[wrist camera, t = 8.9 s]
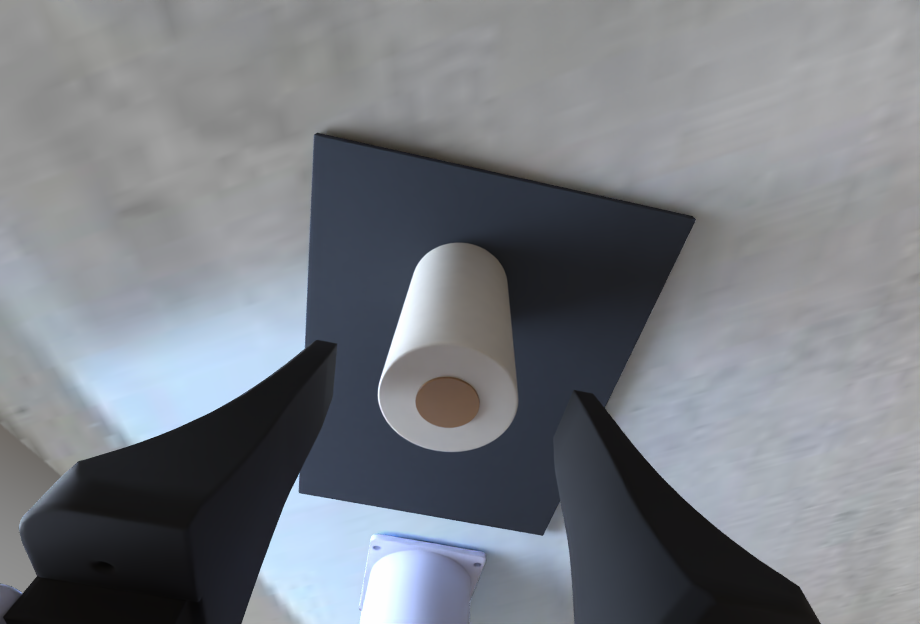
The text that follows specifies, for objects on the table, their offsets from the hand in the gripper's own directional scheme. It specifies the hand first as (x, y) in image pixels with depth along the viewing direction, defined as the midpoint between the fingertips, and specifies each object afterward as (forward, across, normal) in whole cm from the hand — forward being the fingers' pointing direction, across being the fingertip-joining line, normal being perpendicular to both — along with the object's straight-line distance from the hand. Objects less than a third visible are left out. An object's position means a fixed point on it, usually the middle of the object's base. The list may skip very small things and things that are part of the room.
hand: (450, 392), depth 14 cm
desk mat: (+9, -1, +6) cm, 11 cm away
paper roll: (+4, 0, +3) cm, 5 cm away
